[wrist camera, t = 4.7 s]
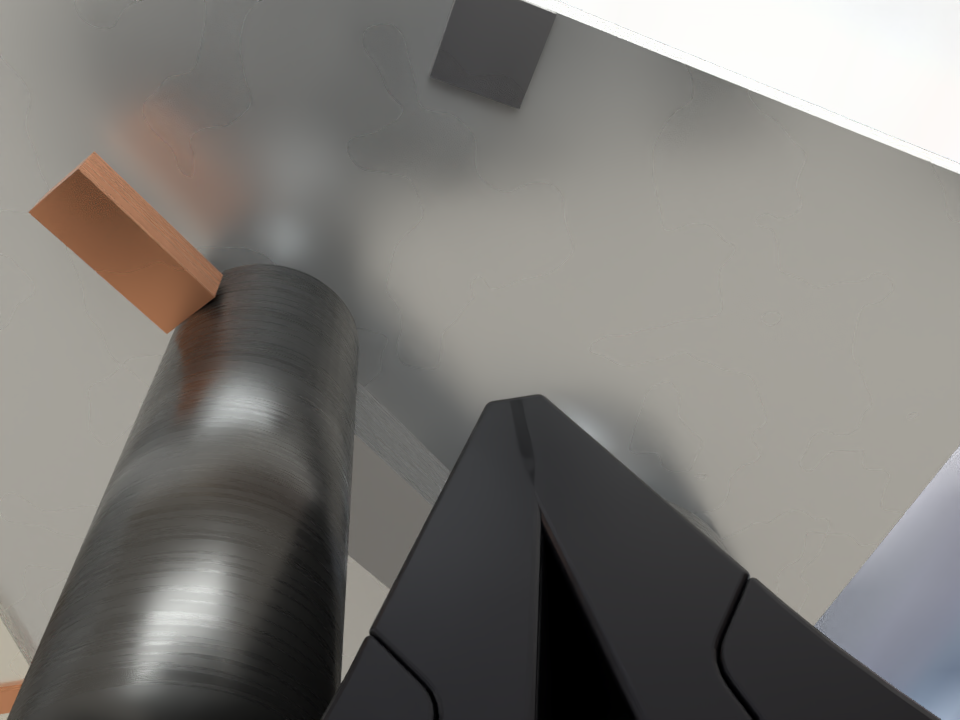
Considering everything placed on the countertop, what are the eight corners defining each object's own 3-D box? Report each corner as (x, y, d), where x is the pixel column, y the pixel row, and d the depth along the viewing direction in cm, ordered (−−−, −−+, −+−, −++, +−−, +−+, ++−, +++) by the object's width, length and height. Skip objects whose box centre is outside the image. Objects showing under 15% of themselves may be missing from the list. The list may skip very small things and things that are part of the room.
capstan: (819, 660, 17) (1047, 1093, 11) (574, 783, 19) (661, 1223, 13) (273, -11, 10) (95, 231, 4) (-63, 283, 11) (-566, 786, 5)
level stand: (1059, 204, 14) (1140, 248, 13) (587, 831, 23) (602, 902, 21) (-173, -295, 9) (-282, -320, 8) (-168, 739, 18) (-218, 822, 17)
